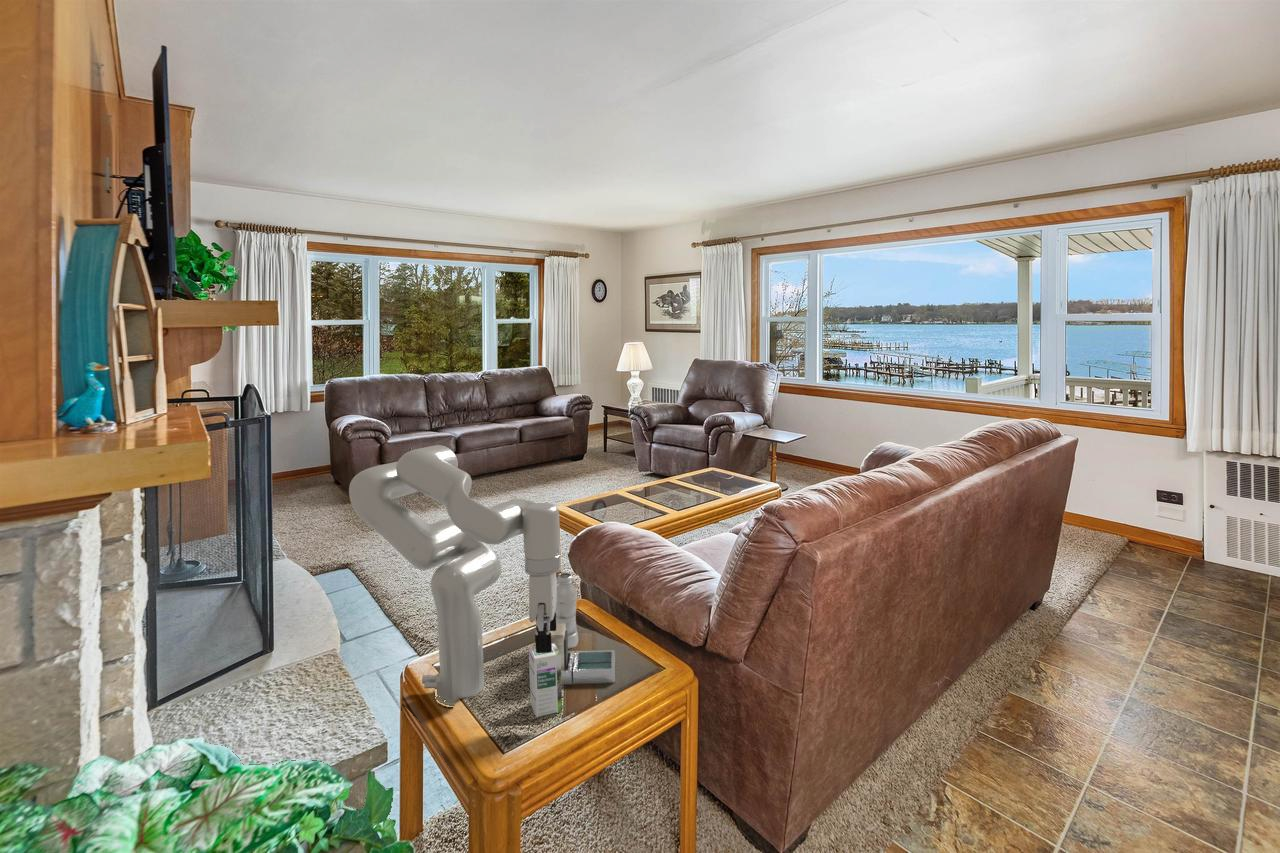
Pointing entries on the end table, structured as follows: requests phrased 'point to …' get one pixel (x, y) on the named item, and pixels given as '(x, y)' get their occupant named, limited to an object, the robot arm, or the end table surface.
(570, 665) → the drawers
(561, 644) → the beige curved-top block
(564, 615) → the plastic bottle
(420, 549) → the robot arm
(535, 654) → the syrup box
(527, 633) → the end table surface
